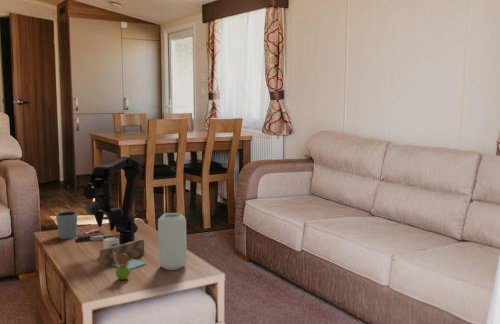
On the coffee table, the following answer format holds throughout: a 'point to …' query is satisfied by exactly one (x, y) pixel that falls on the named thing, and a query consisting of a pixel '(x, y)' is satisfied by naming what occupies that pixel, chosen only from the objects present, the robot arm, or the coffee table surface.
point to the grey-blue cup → (67, 224)
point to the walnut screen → (130, 249)
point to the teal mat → (132, 264)
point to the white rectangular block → (110, 242)
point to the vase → (172, 241)
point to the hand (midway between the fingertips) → (105, 228)
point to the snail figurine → (122, 265)
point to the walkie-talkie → (93, 236)
